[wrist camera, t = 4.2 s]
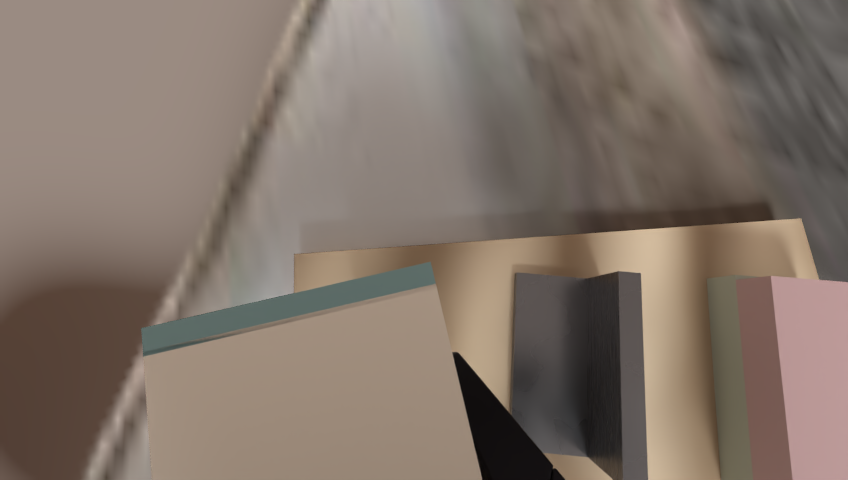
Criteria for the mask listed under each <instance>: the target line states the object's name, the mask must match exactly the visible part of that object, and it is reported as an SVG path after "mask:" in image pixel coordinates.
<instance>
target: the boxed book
mask: <svg viewBox="0 0 848 480" xmlns="http://www.w3.org/2000/svg"><path fill="white" fill-rule="evenodd" d="M141 330H142V344H143V359H144V373H145V388H146V402H147V417H148V431H149V446H150V460H151V474H152V480H482V476H481V472H480V468H479V464H478V459H477V455H476V451H475V447H474V442H473V438H472V434H471V430H470V426H469V421H468V417H467V413H466V409H465V405H464V400H463V396H462V392H461V388H460V383H459V379H458V375H457V371H456V367H455V362H454V358H453V354H452V350H451V345H450V341H449V337H448V333H447V329H446V324H445V320H444V316H443V312H442V308H441V303H440V299H439V295H438V291H437V286H436V282H435V278H434V274H433V270H432V265H431V262H427V263H423V264H418V265H414V266H410V267H405V268H401V269H397V270H392V271H388V272H384V273H379V274H375V275H371V276H366V277H362V278H358V279H353V280H349V281H345V282H340V283H336V284H332V285H327V286H323V287H319V288H314V289H310V290H306V291H301V292H297V293H292V294H288V295H284V296H279V297H275V298H271V299H266V300H262V301H258V302H253V303H249V304H245V305H240V306H236V307H232V308H227V309H223V310H219V311H214V312H210V313H206V314H201V315H197V316H193V317H188V318H184V319H180V320H175V321H171V322H167V323H162V324H158V325H154V326H149V327H145V328H141Z"/></svg>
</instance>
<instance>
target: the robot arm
mask: <svg viewBox="0 0 848 480" xmlns="http://www.w3.org/2000/svg"><path fill="white" fill-rule="evenodd" d="M452 354H453V358H454V362H455V367H456V371H457V375H458V379H459V383H460V388H461V392H462V396H463V400H464V405H465V409H466V413H467V417H468V421H469V426H470V430H471V434H472V438H473V442H474V447H475V451H476V455H477V459H478V464H479V468H480V472H481V476H482V480H565V478H564V477H563V476H562V475H561V474H560V472H559V471H558V470H557V469H556V468H554V469H553V464H552V463H551V462H550V461H549V460H548V458H547V457H546V456H545V455H544V454H543V452H542V451H541V450H540V449H539V448H538V446H537V445H536V444H535V443H534V442H533V440H532V439H531V438H530V437H529V436H528V434H527V433H526V432H525V431H524V430H523V429H522V427H521V426H520V425H519V424H518V423H517V421H516V420H515V419H514V418H513V417H512V415H511V414H510V413H509V412H508V411H507V409H506V408H505V407H504V406H503V405H502V403H501V402H500V401H499V400H498V399H497V397H496V396H495V395H494V394H493V393H492V391H491V390H490V389H489V388H488V387H487V386H486V384H485V383H484V382H483V381H482V380H481V378H480V377H479V376H478V375H477V374H476V372H475V371H474V370H473V369H472V368H471V366H470V365H469V364H468V363H467V362H466V360H465V359H464V358H463V357H462V356H461V355H460V353H458V352H452Z"/></svg>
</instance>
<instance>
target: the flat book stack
mask: <svg viewBox="0 0 848 480" xmlns="http://www.w3.org/2000/svg"><path fill="white" fill-rule="evenodd" d="M707 290H708V304H709V318H710V332H711V346H712V360H713V374H714V388H715V402H716V416H717V430H718V444H719V458H720V472H721V480H848V282H838V281H826V280H814V279H802V278H791V277H779V276H765V277H755V276H743V275H730V276H723V277H715V278H707Z"/></svg>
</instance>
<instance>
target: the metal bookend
mask: <svg viewBox="0 0 848 480" xmlns="http://www.w3.org/2000/svg"><path fill="white" fill-rule="evenodd" d="M510 414H511V415H512V417H513V418H514V419H515V420H516V421H517V423H518V424H519V425H520V426H521V427H522V429H523V430H524V431H525V432H526V433H527V434H528V436H529V437H530V438H531V439H532V440H533V442H534V443H535V444H536V445H537V446H538V448H539V449H540V450H541V451H542V452H543V453H549V454H560V455H570V456H580V457H588V458H589V459H590V460H591V461H593V462H594V463H595V464H596V465H597V466H598V467H599V468H601V469H602V470H603V471H604V472H605V473H606V474H607V475H608V476H610V477H611V478H612V479H613V480H648V462H647V433H646V405H645V376H644V347H643V318H642V289H641V273H634V272H622V271H617V272H613V273H608V274H604V275H600V276H595V277H591V278H576V277H565V276H553V275H541V274H530V273H518V272H517V273H515V279H514V306H513V334H512V361H511V389H510Z"/></svg>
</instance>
